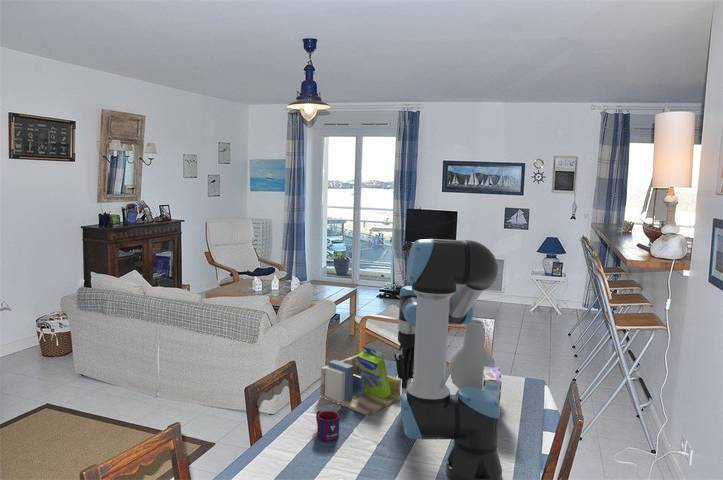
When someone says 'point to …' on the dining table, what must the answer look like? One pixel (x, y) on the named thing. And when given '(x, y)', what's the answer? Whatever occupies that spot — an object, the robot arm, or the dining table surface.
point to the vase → (470, 358)
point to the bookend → (358, 386)
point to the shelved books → (339, 381)
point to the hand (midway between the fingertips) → (405, 396)
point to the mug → (327, 425)
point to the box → (374, 372)
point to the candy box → (492, 381)
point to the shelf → (368, 401)
